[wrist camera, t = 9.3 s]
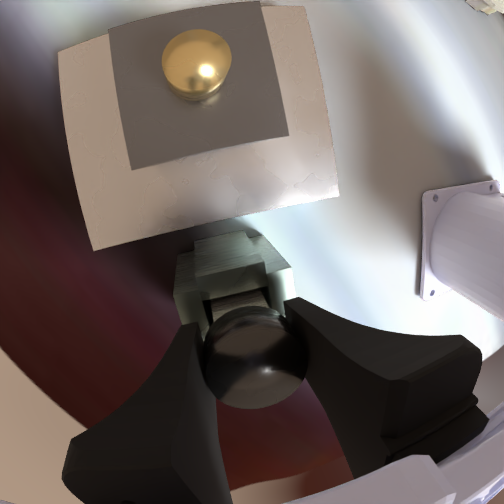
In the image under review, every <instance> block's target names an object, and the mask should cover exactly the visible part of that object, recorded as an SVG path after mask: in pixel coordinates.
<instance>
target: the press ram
mask: <svg viewBox="0 0 504 504" xmlns="http://www.w3.org/2000/svg"><path fill="white" fill-rule="evenodd" d="M210 300H211V307H212V313H213V320H214V323H213V324H212V325H211V327H210V328H209V330H208V331H207V334H206V336H205V339H204V346H203V347H204V358H205V368H206V378H207V383H208V387H209V389H210V391H211V392H212V393H213V395H214V396H215V397H216V398H217V399H219V400H220V401H221V402H223V403H225V404H227V405H230V406H233V407H236V408H242V409H256V408H262V407H267V406H270V405H273V404H275V403H278V402H280V401H282V400H283V399H285V398H287V397H288V396H289V395H291V394H292V393H293V392H294V391H295V390H296V389H297V388H298V387H299V386H300V384H301V383H302V381H303V380H304V377H305V375H306V372H307V368H308V358H307V354H306V352H305V350H304V348H303V346H302V345H301V343H300V341H299V339H298V338H297V336H296V334H295V333H294V331H293V329H292V327H291V326H290V324H289V322H288V321H287V320H286V318H285V317H284V316H283V315H281V314H280V313H279V312H277V311H275V310H273V309H271V308H269V307H268V305H267V303H266V301H265V299H264V297H263V295H262V293H261V291H260V289H259V288H256V289H252V290H248V291H244V292H239V293H235V294H231V295H227V296H222V297H218V298H214V299H210Z"/></svg>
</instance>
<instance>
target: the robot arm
mask: <svg viewBox="0 0 504 504" xmlns="http://www.w3.org/2000/svg"><path fill="white" fill-rule="evenodd" d="M434 196H435V198H434V200H433V197H434ZM422 213H423V245H422V271H421V287H420V298H421V299H422V300H424V301H427V300H429V299H432V298H434V297H436V296H439V295H441V294H443V293H446V292H448V291H450V290H454V291H456V292H457V293H459V294H461V295H462V296H464V297H465V298H467V299H469V300H470V301H472V302H473V303H475V304H477V305H478V306H480V307H481V308H483V309H484V310H486V311H487V312H489V313H491V314H492V315H494V316H495V317H497V318H498V319H500V320H501V321H503V322H504V194H502V193H500V184H499V182H498V181H497V180H490V181H484V182H477V183H471V184H465V185H459V186H453V187H447V188H441V189H436V190H430V191H426V192H425V193H424V194H423V196H422ZM430 292H431V293H430ZM283 304H284V311H285V317H286V320H287V321H288V322H289V324H290V326H291V327H292V329H293V331H294V333H295V334H296V336H297V338H298V339H299V341H300V343H301V345H302V346H303V348H304V350H305V352H306V354H307V358H308V368H307V372H306V375H305V378H306V379H307V381H308V383H309V384H310V386H311V388H312V389H313V391H314V393H315V394H316V396H317V398H318V399H319V401H320V403H321V404H322V406H323V408H324V410H325V412H326V413H327V416H328V418H329V420H330V422H331V425H332V427H333V429H334V431H335V433H336V436H337V438H338V440H339V443H340V445H341V447H342V450H343V452H344V455H345V457H346V460H347V462H348V464H349V467H350V469H351V472H352V475H353V477H354V480H352V481H350V482H347V483H345V484H342V485H339V486H337V487H334V488H331V489H328V490H325V491H323V492H320V493H316V494H314V495H311V496H307V497H304V498H300V499H297V500H293V501H290V502H286V503H282V504H485V503H487V502H488V501H489V500H490V499H491V498H493V497H494V496H495V495H496V494H497V493H498V492H499V491H500V490H502V488H504V401H503V402H502V403H501V404H499V405H498V406H497V407H496V408H495V409H493V410H492V411H491V412H490V413H488V414H487V415H485V414H484V413H483V412H482V411H481V410H480V409H479V408H478V407H477V406H476V404H477V403H478V398H477V397H476V396H475V395H473V393H472V392H473V389H474V386H475V384H476V381H477V378H478V376H479V373H480V370H481V366H482V353H481V351H480V349H479V348H478V347H476V346H475V345H474V344H473V343H471V342H470V341H469V340H467V339H466V338H465V337H464V336H462V335H444V336H425V335H410V334H402V333H395V332H389V331H384V330H379V329H376V328H372V327H368V326H365V325H361V324H358V323H355V322H353V321H350V320H347V319H345V318H342V317H340V316H337V315H335V314H333V313H331V312H328V311H326V310H324V309H322V308H320V307H318V306H316V305H314V304H312V303H310V302H308V301H306V300H304V299H302V298H300V297H296V298H292V299H289V300H285V301H283ZM203 346H204V341H203V338H202V335H201V332H200V328H199V325H198V322H193V323H188V324H184V325H181V327H180V328H179V330H178V332H177V333H176V335H175V337H174V339H173V341H172V343H171V344H170V346H169V348H168V349H167V351H166V353H165V354H164V356H163V358H162V359H161V361H160V362H159V364H158V365H157V367H156V368H155V369H154V371H153V372H152V374H151V375H150V376H149V377H148V379H147V380H146V381H145V382H144V383H143V384H142V386H141V387H140V388H139V389H138V390H137V391H136V392H135V393H134V394H133V395H132V396H131V397H130V398H129V399H128V400H127V401H125V402H124V403H123V404H122V405H121V406H120V407H119V408H118V409H116V410H115V411H114V412H113V413H111V414H110V415H109V416H107V417H106V418H105V419H103V420H102V421H101V422H99V423H98V424H96V425H94V426H93V427H91V428H89V429H88V430H86V431H84V432H83V433H81V434H79V435H77V436H76V437H74V438H72V439H71V441H70V444H69V448H68V451H67V455H66V459H65V463H64V467H63V471H62V480H63V482H64V484H65V486H66V487H67V488H68V489H69V490H70V491H71V493H73V494H74V495H75V496H76V497H77V498H78V499H80V500H81V501H82V502H83V503H85V504H233V502H232V498H231V494H230V490H229V486H228V482H227V478H226V473H225V469H224V465H223V460H222V455H221V450H220V445H219V439H218V430H217V415H216V398H215V396H214V395H213V393H212V392H211V391H210V389H209V387H208V383H207V378H206V368H205V358H204V347H203ZM0 504H14V503H10V502H7V501H4V500H0Z"/></svg>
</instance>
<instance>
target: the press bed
mask: <svg viewBox="0 0 504 504" xmlns="http://www.w3.org/2000/svg"><path fill="white" fill-rule="evenodd" d="M261 9H262V13H263V17H264V21H265V25H266V29H267V33H268V37H269V41H270V45H271V50H272V54H273V58H274V63H275V67H276V72H277V76H278V81H279V86H280V90H281V95H282V100H283V105H284V110H285V115H286V120H287V125H288V131H289V136H287V137H282V138H277V139H272V140H267V141H262V142H257V143H252V144H247V145H241V146H236V147H231V148H226V149H222V150H217V151H212V152H208V153H203V154H199V155H194V156H190V157H186V158H182V159H178V160H174V161H170V162H166V163H162V164H158V165H155V166H150V167H145V168H141V169H137V170H131V166H130V161H129V157H128V152H127V148H126V143H125V138H124V133H123V128H122V122H121V117H120V111H119V106H118V100H117V94H116V87H115V81H114V74H113V67H112V59H111V51H110V42H109V33H108V34H105V35H102V36H99V37H96V38H93V39H90V40H87V41H85V42H82V43H79V44H77V45H74V46H72V47H69V48H67V49H64V50H62V51H60V52H58V66H59V80H60V91H61V100H62V109H63V117H64V124H65V131H66V137H67V143H68V149H69V154H70V159H71V164H72V169H73V174H74V179H75V183H76V188H77V192H78V196H79V200H80V204H81V208H82V212H83V216H84V220H85V223H86V227H87V230H88V234H89V237H90V241H91V244H92V247H93V250H94V251H95V250H99V249H103V248H107V247H111V246H115V245H118V244H122V243H126V242H130V241H134V240H138V239H142V238H147V237H151V236H155V235H159V234H163V233H167V232H172V231H176V230H180V229H184V228H189V227H193V226H197V225H202V224H206V223H211V222H215V221H220V220H224V219H229V218H233V217H238V216H243V215H247V214H252V213H257V212H262V211H267V210H272V209H276V208H281V207H286V206H291V205H296V204H302V203H307V202H312V201H317V200H322V199H328V198H333V197H339V188H338V179H337V171H336V164H335V156H334V149H333V142H332V136H331V130H330V123H329V118H328V112H327V106H326V101H325V95H324V90H323V85H322V80H321V75H320V70H319V65H318V61H317V56H316V52H315V48H314V43H313V39H312V35H311V31H310V27H309V23H308V19H307V15H306V12H305V8H304V6H261ZM194 248H195V250H194V251H190V252H185V253H181V254H178V258H177V266H176V274H175V282H174V291H173V297H174V300H175V303H176V307H177V310H178V313H179V316H180V319H181V322H182V325H184V324H188V323H193V322H198V325H199V328H200V332H201V335H202V338H203V341H204V339H205V336H206V334H207V331H208V330H209V328H210V327H211V325H212V324H213V323H214V320H213V313H212V307H211V301H209V299H214V298H218V297H222V296H227V295H231V294H235V293H239V292H244V291H248V290H252V289H256V288H259V289H260V291H261V293H262V295H263V297H264V299H265V301H266V303H267V305H268V307H269V308H271V309H273V310H275V311H277V312H279V313H280V314H281V315H283V316H284V317H285V311H284V304H283V301H285V300H289V299H292V298H296V296H295V288H294V281H293V273H292V267H291V266H290V265H289V264H288V263H287V262H286V260H285V259H284V258H283V257H282V256H281V255H280V254H279V252H278V251H277V250H276V249H275V248H274V247H273V246H272V244H271V243H270V242H269V241H268V240H267V239H266V238H265V237H264V235H261V236H256V237H252V238H248V236H247V235H246V234H245V232H244V231H243V230H241V231H236V232H232V233H227V234H223V235H218V236H214V237H209V238H205V239H200V240H196V241H194ZM285 318H286V317H285Z"/></svg>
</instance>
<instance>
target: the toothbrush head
mask: <svg viewBox="0 0 504 504" xmlns="http://www.w3.org/2000/svg"><path fill="white" fill-rule="evenodd" d="M465 2H467V3H468V4H469V5H471V6H472V7H473V8H474V9H475V10H477V11H479V10H481V11H483V12H485V13H486V14H487V15H489V14H491V13H494V12H496V11H499V12H501V13H504V0H465Z"/></svg>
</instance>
